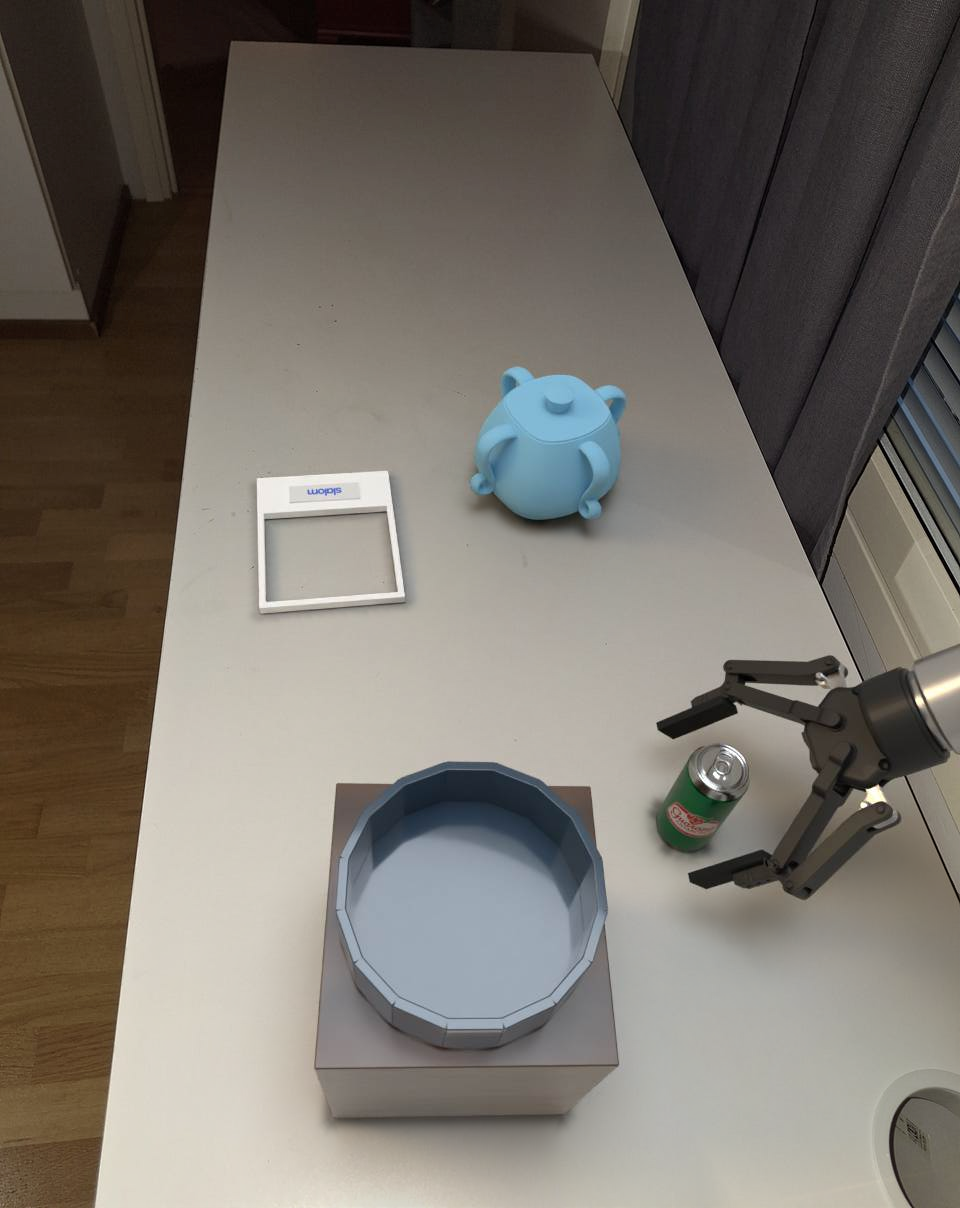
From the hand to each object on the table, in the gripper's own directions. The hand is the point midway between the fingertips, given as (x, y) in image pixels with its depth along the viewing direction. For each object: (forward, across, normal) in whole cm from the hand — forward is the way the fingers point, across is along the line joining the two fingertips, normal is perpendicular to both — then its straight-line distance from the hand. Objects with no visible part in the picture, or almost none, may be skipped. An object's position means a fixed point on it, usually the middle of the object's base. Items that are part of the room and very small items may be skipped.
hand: (679, 802), depth 77 cm
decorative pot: (+8, +42, +1) cm, 43 cm away
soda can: (+3, 0, -5) cm, 6 cm away
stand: (+18, -13, +11) cm, 25 cm away
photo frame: (+25, +34, +18) cm, 46 cm away
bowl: (+4, -13, +25) cm, 28 cm away
